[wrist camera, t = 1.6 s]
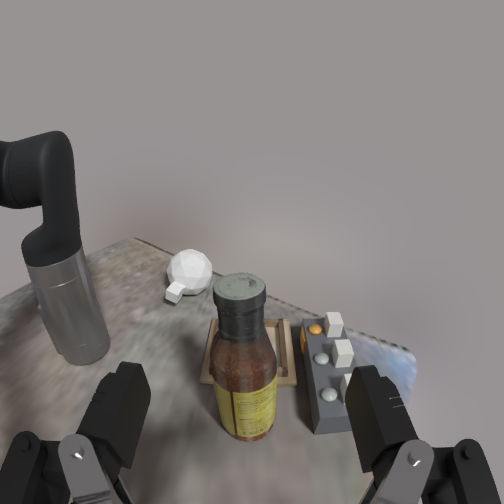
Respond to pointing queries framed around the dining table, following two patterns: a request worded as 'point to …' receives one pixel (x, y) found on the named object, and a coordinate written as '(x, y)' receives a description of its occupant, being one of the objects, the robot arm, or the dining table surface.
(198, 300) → the dining table surface
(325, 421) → the breaker bank
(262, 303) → the sauce bottle
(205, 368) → the square beige tray
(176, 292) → the faceted ball with stub
